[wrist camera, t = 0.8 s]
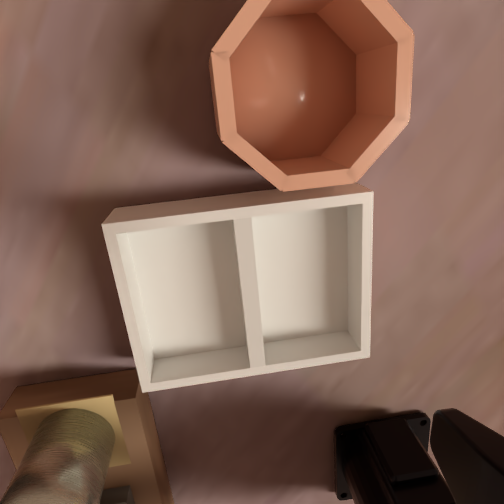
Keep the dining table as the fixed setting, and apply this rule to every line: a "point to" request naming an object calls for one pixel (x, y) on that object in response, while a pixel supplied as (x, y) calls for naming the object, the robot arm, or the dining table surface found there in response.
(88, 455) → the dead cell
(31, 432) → the cradle
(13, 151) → the dining table surface
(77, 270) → the dining table surface
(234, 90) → the cup
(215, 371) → the trough tray
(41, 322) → the dining table surface
